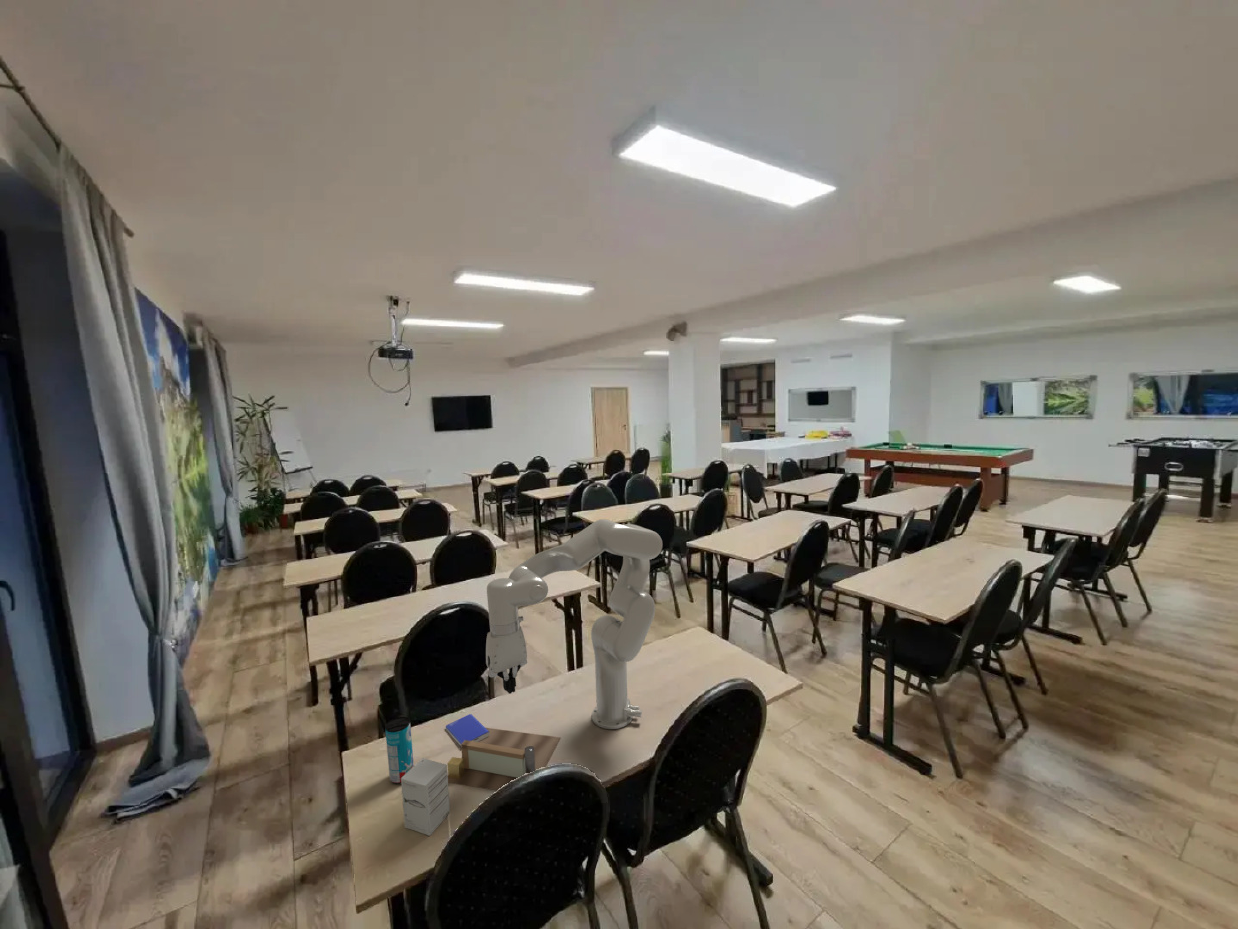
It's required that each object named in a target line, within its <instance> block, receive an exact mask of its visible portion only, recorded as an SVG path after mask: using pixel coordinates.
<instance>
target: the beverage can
mask: <svg viewBox="0 0 1238 929" xmlns="http://www.w3.org/2000/svg"><path fill="white" fill-rule="evenodd" d="M410 719H411V718H409V717H406V716H398V717H394V718H393V719H390V720H389V721H387V723H386V724H385V726H384V729H385V741H386V752H387V753H386V754H387V761H388V764H387V765H388V774H389V781H390V782H391V783H392V784H394V785H402V784H401V778H402V777H403V776H404V775H405V774H406V773H407V772H408V771H409V770H410V769H411V768H412V767H413V766H415V764H414V753H413V741H412V728H411V720H410Z"/></svg>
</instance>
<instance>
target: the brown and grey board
mask: <svg viewBox="0 0 1238 929" xmlns="http://www.w3.org/2000/svg"><path fill="white" fill-rule="evenodd" d="M460 747H461V758H462V759H464V768H466V769H474V770H480V771H485V772H490V773H496V774H501V775H506V776H512V777H517V778H518V777H520V776H522V775H524V774H525V773H526V771H525V750H521V749H515V748H509V747H503V746H497V745H492V744H486V743H480V742H474V741H468V740H464V742H463V743H462V744H461V746H460Z"/></svg>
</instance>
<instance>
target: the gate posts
mask: <svg viewBox="0 0 1238 929" xmlns="http://www.w3.org/2000/svg"><path fill="white" fill-rule="evenodd" d="M446 765H447V775H448V778H454V779H460V778H461V777H462V776H463V774H464V759H462V757H457V756H456V757H454V756H452V757H451V758H450V759H449V761H448V762H447V763H446ZM525 767H526V773H530V772H533V771H535V755H534V747H533V746H528V747H526V748H525Z"/></svg>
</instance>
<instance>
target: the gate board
mask: <svg viewBox="0 0 1238 929" xmlns="http://www.w3.org/2000/svg"><path fill="white" fill-rule="evenodd" d="M485 728H486V729H487V730H488V731H489V733H490V735H489V736H488V737H486V738H484V739H482V740H480V741H478V742H480V743H486V744H492V745H497V746H503V747H509V748H515V749H521V750H525V748H526V747H528V746H533V747H534V755H535V770H536V769H539V768H541V767H545V768H546V767H547V765H548V764H549V761H550V760H551V758H552V756H553V754H554V752H555V751H556V748H557V746H558V745H559V742H561V741H560V740H561V739H562V737H561V736H560V737H559V736H551V735H543V734H537V733H536V734H535V733H530V732H519V731H514V730H505V729H499V728H492V727H491V728H490V727H485ZM525 771H526V767H525ZM516 778H517V777H512V776H506V775H501V774H496V773H490V772H485V771H480V770H474V769H466V768H464V774H463V776H462V777H461V778H460V779H454V778H448V784H455V785H460V786H461V785H462V786H465V787H466V786H467V787H474V788H479V789H480V788H481V789H485V790H491V791H497V790H498V789H499V788H501V787H502V786H503V785H505V784H507V783H509V782H510V781H511V780H514V779H516Z"/></svg>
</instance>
